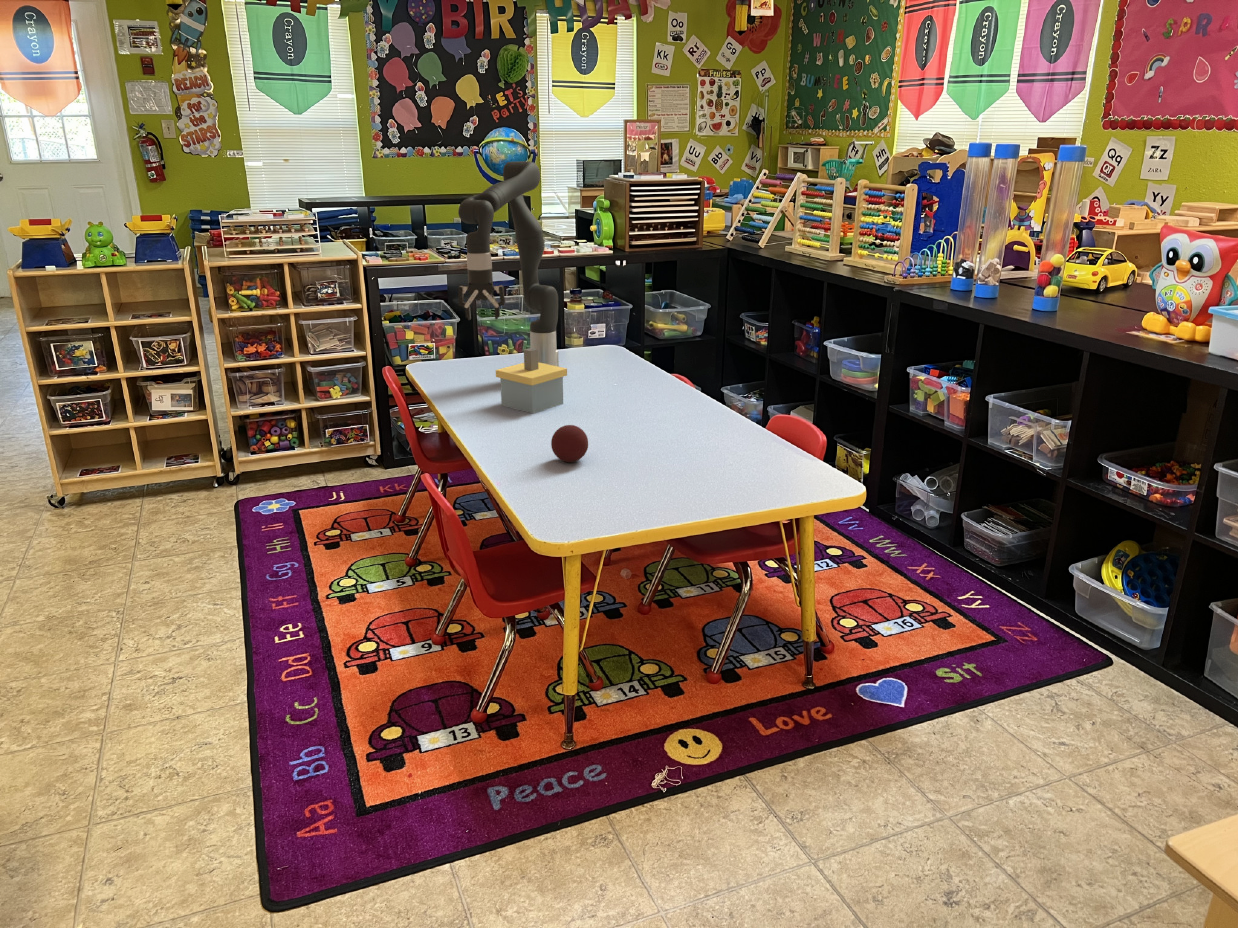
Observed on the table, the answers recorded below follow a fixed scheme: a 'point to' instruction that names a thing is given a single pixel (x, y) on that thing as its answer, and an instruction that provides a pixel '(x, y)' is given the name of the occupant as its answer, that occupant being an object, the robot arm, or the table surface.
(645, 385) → the table surface
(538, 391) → the box
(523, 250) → the robot arm
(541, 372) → the lid
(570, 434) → the decorative ball
